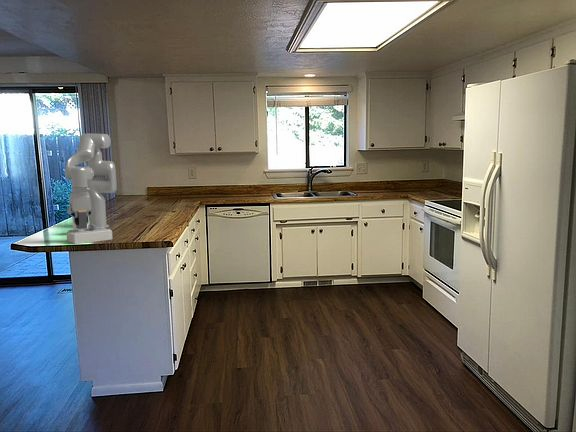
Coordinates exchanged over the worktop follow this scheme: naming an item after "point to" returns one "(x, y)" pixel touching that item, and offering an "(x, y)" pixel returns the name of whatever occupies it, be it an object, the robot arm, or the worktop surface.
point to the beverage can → (75, 224)
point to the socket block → (88, 235)
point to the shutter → (94, 227)
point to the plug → (82, 219)
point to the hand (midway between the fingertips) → (81, 223)
